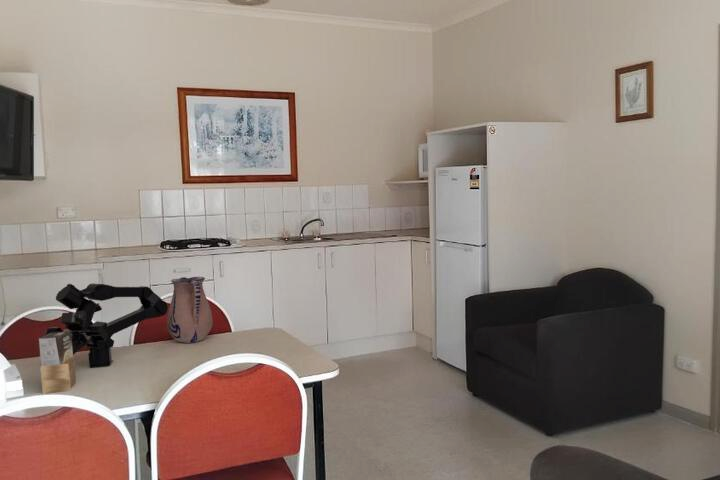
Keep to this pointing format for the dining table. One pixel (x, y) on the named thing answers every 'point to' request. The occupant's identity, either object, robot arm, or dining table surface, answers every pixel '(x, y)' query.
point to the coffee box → (55, 348)
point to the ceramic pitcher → (189, 311)
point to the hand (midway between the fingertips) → (68, 356)
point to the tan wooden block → (58, 377)
